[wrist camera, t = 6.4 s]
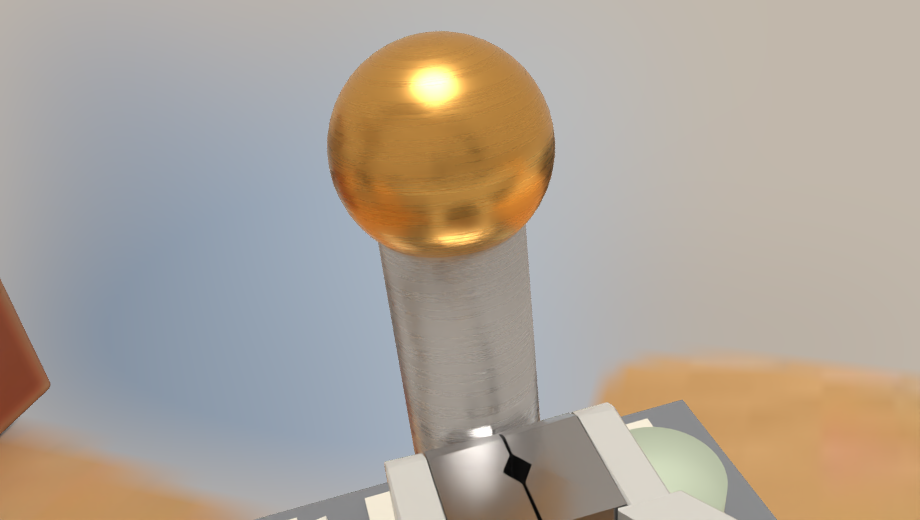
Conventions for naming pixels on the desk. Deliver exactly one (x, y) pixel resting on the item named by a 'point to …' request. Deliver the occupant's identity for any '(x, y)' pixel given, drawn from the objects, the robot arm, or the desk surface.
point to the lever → (450, 222)
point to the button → (684, 464)
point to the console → (371, 513)
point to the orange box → (17, 366)
